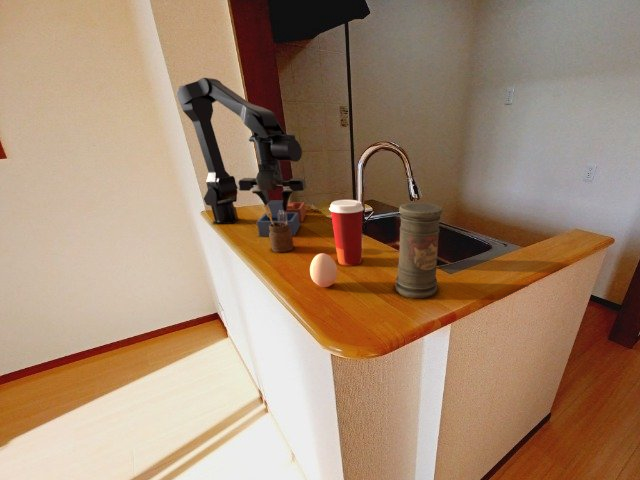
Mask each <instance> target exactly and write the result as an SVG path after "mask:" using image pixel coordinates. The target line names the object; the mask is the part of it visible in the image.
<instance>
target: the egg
mask: <svg viewBox="0 0 640 480" xmlns="http://www.w3.org/2000/svg"><path fill="white" fill-rule="evenodd" d="M311 260H312V261H311V263H310V266H309V275H310V278H311V280H312V281H313V283H314V284H315V285H317V286H318V287H321V288H328V287H331V286H332V285H333V284H334V283H335V282H336V280H337V278H338V267H337V264H336V262H335V260H334V259H333V257H332V256H330V255H329V254H327V253H324V252H323V253H318V254H316V255H315V256H314V257H313V259H311Z"/></svg>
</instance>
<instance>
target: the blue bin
mask: <svg viewBox="0 0 640 480" xmlns="http://www.w3.org/2000/svg"><path fill="white" fill-rule="evenodd" d="M272 221H273V223H277V222H278V221H280V222H285V223H286V222H287V223H288V224H289V227H290V228H289V230H290V231H291V233H292V237H295V236H296V234H297V232H298V231H299V228H300V227H301V222H299V216H298V213H286V216H285V217H284V218H272ZM270 224H272V222H271V219H270V218H269V217H268V216H267V214H266V212H264V214H263V215H262V216H261V217H259V219H257V221H256V227H257V230H258V235H259V236H258V237H269V233H270V230H269V225H270Z"/></svg>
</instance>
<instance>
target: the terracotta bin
mask: <svg viewBox="0 0 640 480" xmlns="http://www.w3.org/2000/svg"><path fill="white" fill-rule="evenodd" d="M294 204H295V209H287V210H286V213H298V216H299V223H303V221H304V219H305V218H306V215H307V211H306V203H305V201H304V202H303V201H302V202H301V201H300V202H294Z"/></svg>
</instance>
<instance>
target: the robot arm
mask: <svg viewBox="0 0 640 480" xmlns="http://www.w3.org/2000/svg"><path fill="white" fill-rule="evenodd" d="M176 97H177V101H178V103H179V105H180V108H181V109H182V111H183V113H184V114H185V115H186V116H187V117H188V119H189V120H190V121H191V123H192V124H193V128H194V132H195V134H196V138H197V141H198V143H199V147H200V150H201V153H202V156H203V159H204V163H205V166H206V170H207V177H206V181H205V183H206V187H207V188H206V189H207V190H206V193H205V195H204V196H203V201H204V203H205V205H206V206H208V207H209V206H210V207H211V211H212V214H213V219H214V220H213V224H234V223H235V222H237V220H239V219H240V218H239V216H238V212H237V207H236V206H234V203H236V202H237V200H238V191H240V192H247V191H251V190H252V191H251V192H252V194H254V195H256V196H258V197H259V199H260V200H261V201H262V203H263V206H264V205H266V206H267V203H268V202H269V201H270V197H269V192H268V191H275V190H276V189H277V188H282V191H281V195H282V201H283V208H284V213H286V210H287V205H288V201H289V197H290V194H291V193H293V192H294V191H297V192H302V191H304V190H305V189H306V188H307V183H306V180H305V179H304V178H303V177H301V178H300V177H299V178H298V177H292V178H291V179H289V180H284V178H283V174H282V171H281V162H293V163H294V162H295V163H296V162H299V161H300V160H301V159H302V155H303V150H302V147H301V144H300V143H299V141H298V140H297V139H296V135H295V134H286V132H285V130H284V129H283V127H282V126H281V124H280V123H279V121H278V119H277V115H276V114H275V113H274V112H273V111H272V110H269V109H267V108H266V107H263V106H260V105H256V104H253V103H251V102H249V101H248V100H246V99H245V98H243V97H242V96H240V95H239V94H238V93H236V92H235V91H233V90H231V88H229V87H227V86H226V85H224V84H223V83H222V82H221V81H220V80H218V79H217V78H211V77H202V78H200V79H198V80H197V81H194V82H193V81H192V82H190V83H187V84H183V85H180V86H179V87H178V88H177V91H176ZM216 102H218V103H219V104H221V105H222V106H224V107H225V108H227V109H228V110H230V111H231V112H233V113H234V114H236V116H238V117H239V118H240V119H241V120H242V123H243V124H244V126H246V127H247V128H248V129H249V131H251V133H252V134H251V136H250V137H249V138H248V142H250V143H251V142H252V143H254V144H255V150H256V155H257V160H258V165H257V166H258V167H257V168H258V172H257V174H256V177H243V178H241V179H239V180H238V181H237V182H236V178H235V176H234V175H230V174H229V173H228V172H227V171H226V167H225V165H224V161H223V158H222V154H221V151H220V148H219V144H218V141H217V138H216V133H215V131H214V127H213V124H212V118H213V114H214V107H213V104H214V103H216ZM280 161H281V162H280ZM266 206H265V207H266ZM267 208H268V207H267Z"/></svg>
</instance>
